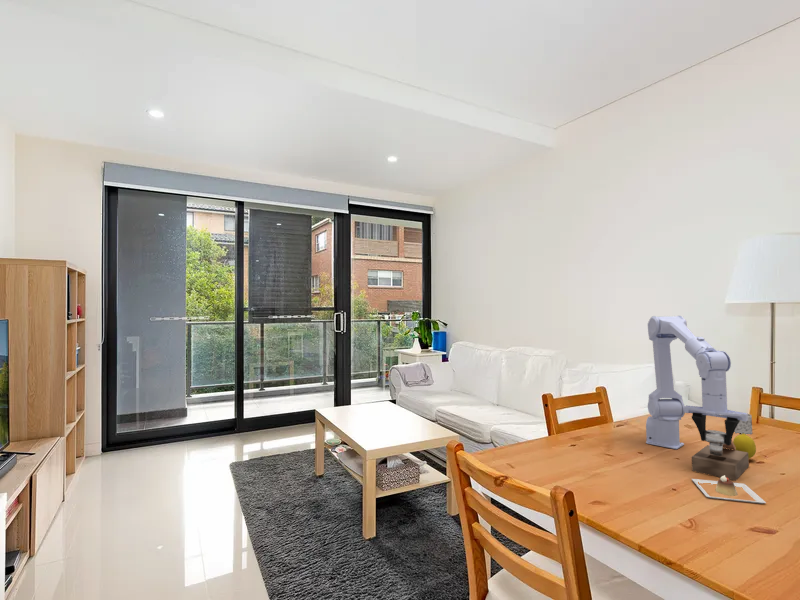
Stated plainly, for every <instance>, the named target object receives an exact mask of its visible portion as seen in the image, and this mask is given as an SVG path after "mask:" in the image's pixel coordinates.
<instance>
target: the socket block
mask: <svg viewBox="0 0 800 600" xmlns="http://www.w3.org/2000/svg"><path fill="white" fill-rule="evenodd" d="M749 460H750V459H749V458H748V452H742V451H737V450H732V449H727V448H723V455H722V456H717V455H712V454H710V445H709V444H707V445H705V446H704V447H703V448H702V449H700V450H699V451H697V452H696V453H695V454H693V455H692V456H691V471H692V472H694V471H696V472H695V473H699V472H700V474H703V473H705V475H708V474H709V475H708V476H712V475H713V477H717V478H721V477H722V476H724V475H725V476H726V477H727V478H728V479H729V480H730V481H733V482H734V481H737V480H738V479H739V478H740V477H741V476H742V475H743V474H744V472H745V471H746V470H747V469H748V468H749V466H750V464H749V463H750V461H749Z"/></svg>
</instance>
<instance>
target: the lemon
mask: <svg viewBox="0 0 800 600" xmlns="http://www.w3.org/2000/svg"><path fill="white" fill-rule="evenodd" d="M732 441H733V443H734V445H735V447H736V450H737V451H742V452H748V459H751V458H753V457H754V456H755V454H756V452H757V445H756V443H755V440H754V439H753V438H752V437H751V436H750V435H746V434H738V435H736V436H735V437H734V438H733V440H732Z"/></svg>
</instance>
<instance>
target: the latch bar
mask: <svg viewBox="0 0 800 600" xmlns="http://www.w3.org/2000/svg"><path fill="white" fill-rule="evenodd" d="M723 448H726V449H732V450H736V447H735V445H734V443H733V440H731V445H730V446H729V445H726V444H723Z"/></svg>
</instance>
